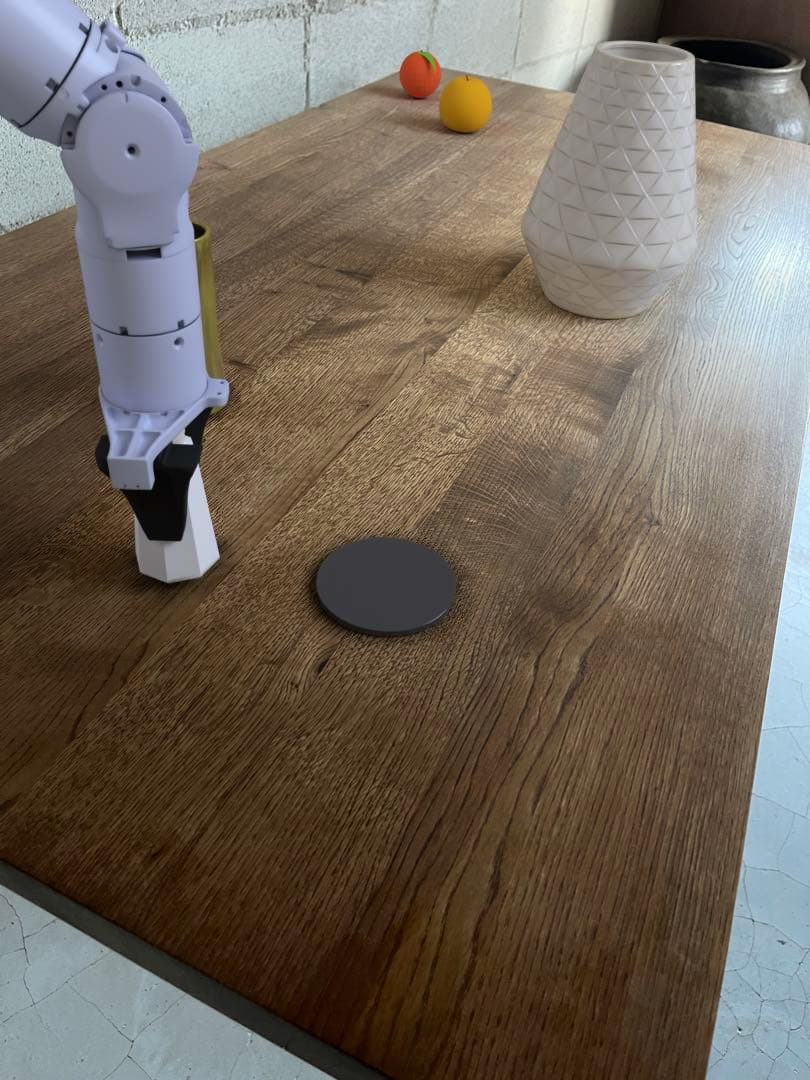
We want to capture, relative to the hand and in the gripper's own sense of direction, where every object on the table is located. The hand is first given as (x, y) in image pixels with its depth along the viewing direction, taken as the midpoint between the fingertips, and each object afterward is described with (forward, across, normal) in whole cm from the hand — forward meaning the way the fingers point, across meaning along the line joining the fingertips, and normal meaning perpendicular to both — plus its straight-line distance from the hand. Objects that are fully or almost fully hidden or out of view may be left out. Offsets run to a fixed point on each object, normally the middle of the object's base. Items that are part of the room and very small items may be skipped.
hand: (172, 515), depth 57 cm
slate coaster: (+4, -1, -14) cm, 14 cm away
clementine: (+4, +120, -19) cm, 121 cm away
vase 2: (+4, +45, -35) cm, 57 cm away
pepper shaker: (+4, 0, 0) cm, 4 cm away
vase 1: (+4, +21, +3) cm, 21 cm away
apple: (+4, +103, -25) cm, 106 cm away
